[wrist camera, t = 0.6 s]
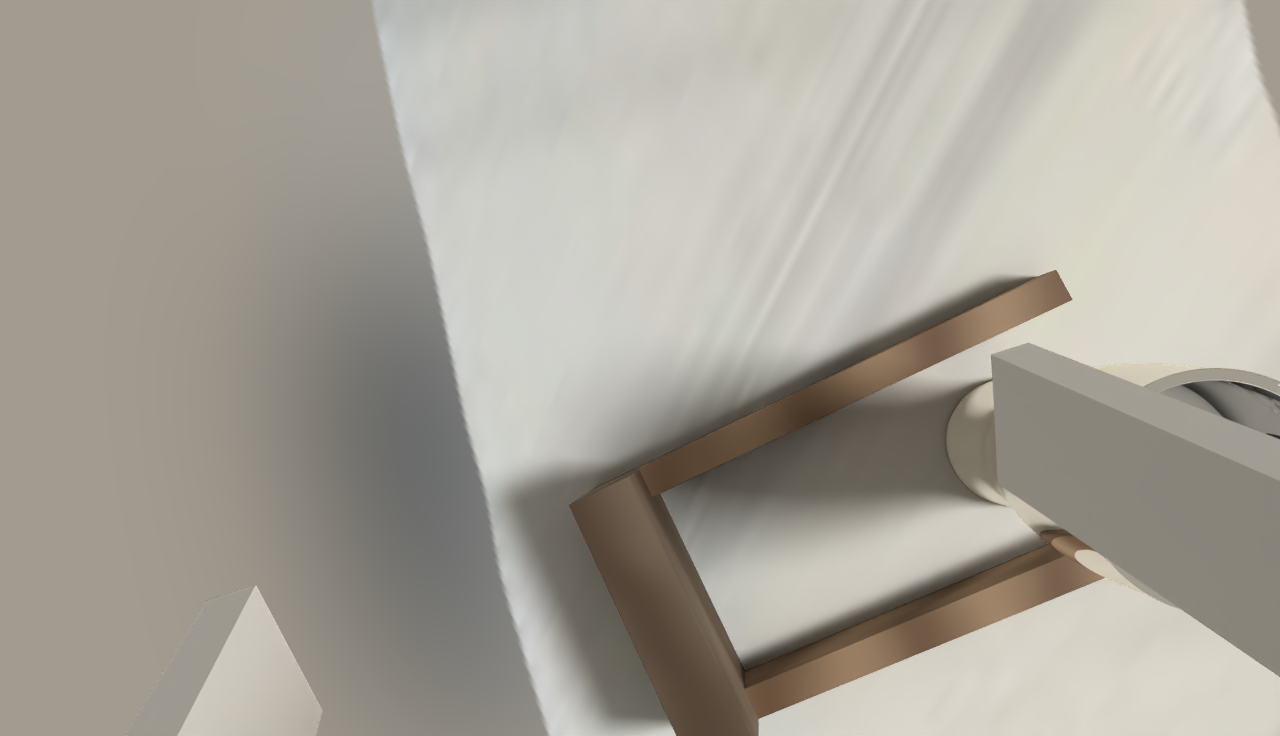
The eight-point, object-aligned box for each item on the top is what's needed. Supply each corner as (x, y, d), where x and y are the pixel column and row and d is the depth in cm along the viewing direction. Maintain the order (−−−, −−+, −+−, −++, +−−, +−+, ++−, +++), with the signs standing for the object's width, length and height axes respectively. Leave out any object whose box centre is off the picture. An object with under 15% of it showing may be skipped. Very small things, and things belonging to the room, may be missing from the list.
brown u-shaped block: (1038, 276, 33) (1087, 258, 28) (1175, 527, 32) (1252, 555, 27) (594, 487, 36) (569, 505, 32) (704, 721, 35) (695, 777, 30)
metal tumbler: (1022, 545, 33) (1237, 680, 18) (904, 447, 34) (1017, 500, 19) (1126, 434, 32) (1438, 481, 17) (1003, 337, 33) (1200, 305, 18)
